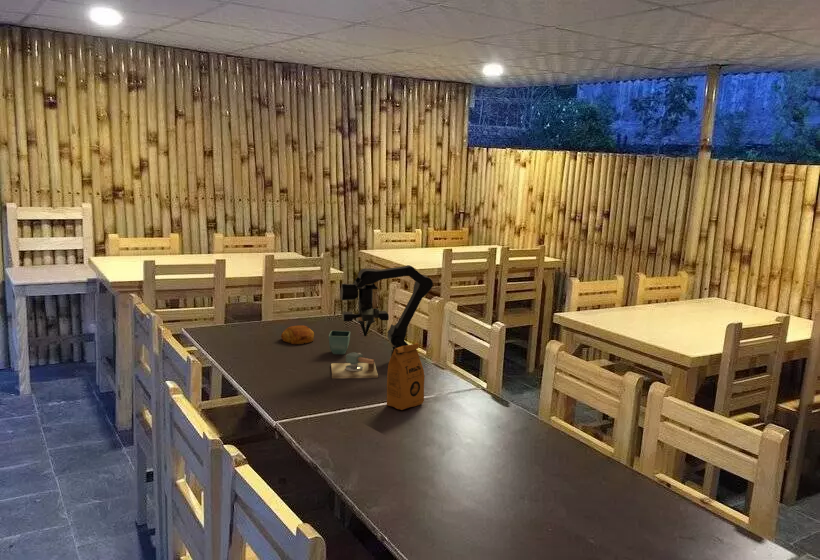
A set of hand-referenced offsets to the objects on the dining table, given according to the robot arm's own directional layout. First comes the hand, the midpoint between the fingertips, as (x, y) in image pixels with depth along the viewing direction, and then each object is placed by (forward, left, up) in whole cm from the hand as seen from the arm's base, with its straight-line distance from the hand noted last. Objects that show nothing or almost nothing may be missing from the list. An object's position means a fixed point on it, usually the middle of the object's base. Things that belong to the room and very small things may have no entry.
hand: (365, 336), depth 274 cm
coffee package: (-11, +48, -12) cm, 51 cm away
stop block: (-2, +12, -12) cm, 17 cm away
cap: (+2, +12, -8) cm, 14 cm away
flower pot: (+10, -16, -12) cm, 22 cm away
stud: (+5, +10, -12) cm, 16 cm away
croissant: (+28, -37, -12) cm, 48 cm away
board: (+5, +10, -12) cm, 16 cm away
